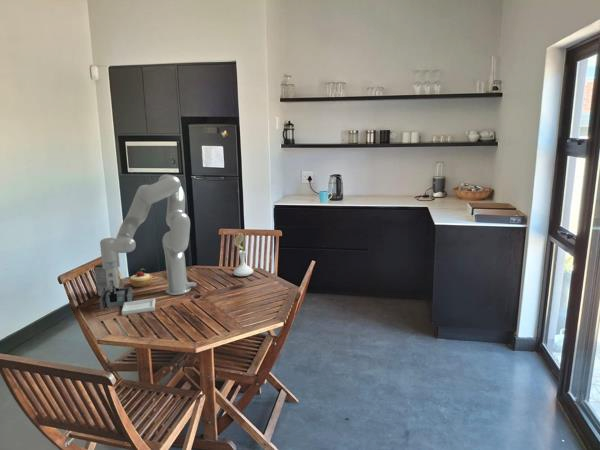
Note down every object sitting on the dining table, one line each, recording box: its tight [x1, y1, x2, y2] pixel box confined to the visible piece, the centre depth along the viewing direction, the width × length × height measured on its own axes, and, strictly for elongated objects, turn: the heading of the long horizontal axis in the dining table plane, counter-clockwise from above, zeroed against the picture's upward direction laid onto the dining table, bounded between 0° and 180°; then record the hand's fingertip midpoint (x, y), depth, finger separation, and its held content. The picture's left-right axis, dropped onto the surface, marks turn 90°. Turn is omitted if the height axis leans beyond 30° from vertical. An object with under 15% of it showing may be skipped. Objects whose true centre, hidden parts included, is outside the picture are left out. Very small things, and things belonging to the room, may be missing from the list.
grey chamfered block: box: [106, 290, 127, 308], centre depth 216 cm, size 8×5×6 cm, turn 106°
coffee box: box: [93, 262, 109, 297], centre depth 232 cm, size 9×6×16 cm
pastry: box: [129, 268, 154, 288], centre depth 243 cm, size 12×12×9 cm
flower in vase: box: [232, 232, 254, 277], centre depth 250 cm, size 13×11×25 cm
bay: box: [98, 286, 134, 310], centre depth 218 cm, size 13×14×5 cm
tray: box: [121, 297, 156, 317], centre depth 209 cm, size 14×12×2 cm
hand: (114, 298), depth 215 cm, fingers open, 9 cm apart
